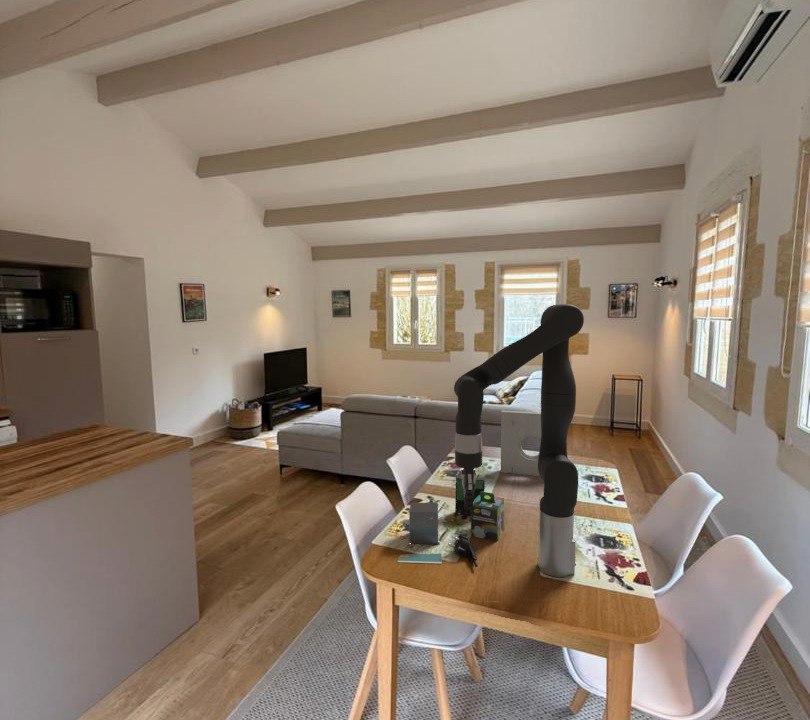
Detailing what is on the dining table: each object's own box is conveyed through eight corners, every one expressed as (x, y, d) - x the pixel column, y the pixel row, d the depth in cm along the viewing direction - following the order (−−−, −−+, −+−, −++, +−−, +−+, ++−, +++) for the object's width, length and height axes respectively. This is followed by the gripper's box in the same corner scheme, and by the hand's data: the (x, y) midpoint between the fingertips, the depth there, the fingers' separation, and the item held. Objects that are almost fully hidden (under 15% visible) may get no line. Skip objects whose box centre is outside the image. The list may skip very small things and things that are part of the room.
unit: (439, 534, 146) (439, 502, 145) (439, 546, 138) (439, 513, 137) (409, 533, 147) (409, 501, 146) (408, 545, 139) (407, 512, 138)
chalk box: (504, 531, 148) (505, 488, 146) (497, 543, 140) (498, 499, 138) (478, 525, 152) (478, 484, 150) (469, 537, 144) (470, 494, 142)
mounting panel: (500, 479, 195) (500, 412, 192) (500, 475, 200) (501, 410, 197) (563, 485, 187) (565, 416, 184) (563, 480, 192) (565, 413, 189)
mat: (441, 548, 137) (441, 547, 137) (441, 564, 128) (441, 563, 128) (399, 547, 138) (399, 546, 138) (397, 563, 129) (397, 561, 129)
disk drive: (484, 516, 158) (484, 477, 157) (484, 520, 156) (484, 480, 154) (455, 514, 160) (455, 475, 159) (455, 517, 158) (455, 478, 156)
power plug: (483, 558, 124) (474, 537, 136) (459, 548, 124) (452, 527, 136) (474, 575, 125) (465, 553, 137) (450, 565, 124) (444, 543, 136)
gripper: (484, 455, 114) (484, 519, 116) (479, 441, 127) (479, 498, 129) (455, 455, 115) (456, 519, 116) (453, 441, 128) (454, 498, 129)
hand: (468, 508), depth 123 cm, fingers closed
